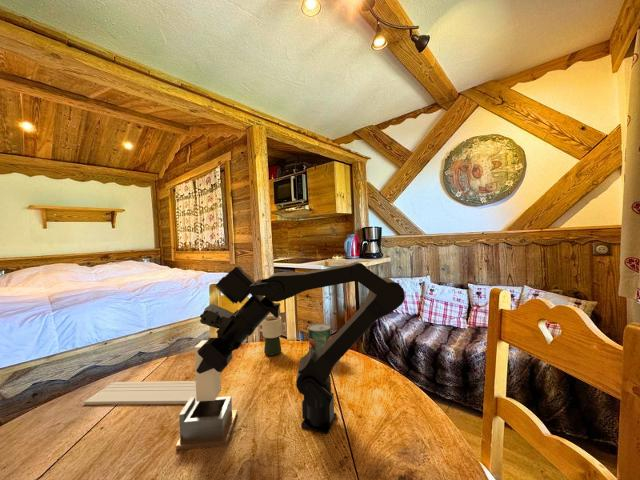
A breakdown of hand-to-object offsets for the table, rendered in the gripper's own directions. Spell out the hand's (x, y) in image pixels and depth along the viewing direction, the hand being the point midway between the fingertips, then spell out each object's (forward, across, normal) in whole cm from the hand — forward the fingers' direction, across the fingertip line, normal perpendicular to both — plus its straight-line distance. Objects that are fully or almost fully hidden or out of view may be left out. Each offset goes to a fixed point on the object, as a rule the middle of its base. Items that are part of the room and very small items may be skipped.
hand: (202, 367), depth 61 cm
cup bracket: (+8, +2, +11) cm, 14 cm away
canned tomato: (-9, -32, +29) cm, 44 cm away
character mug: (+3, -37, +17) cm, 41 cm away
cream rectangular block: (+4, 0, +6) cm, 7 cm away
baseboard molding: (+24, -15, -4) cm, 28 cm away
